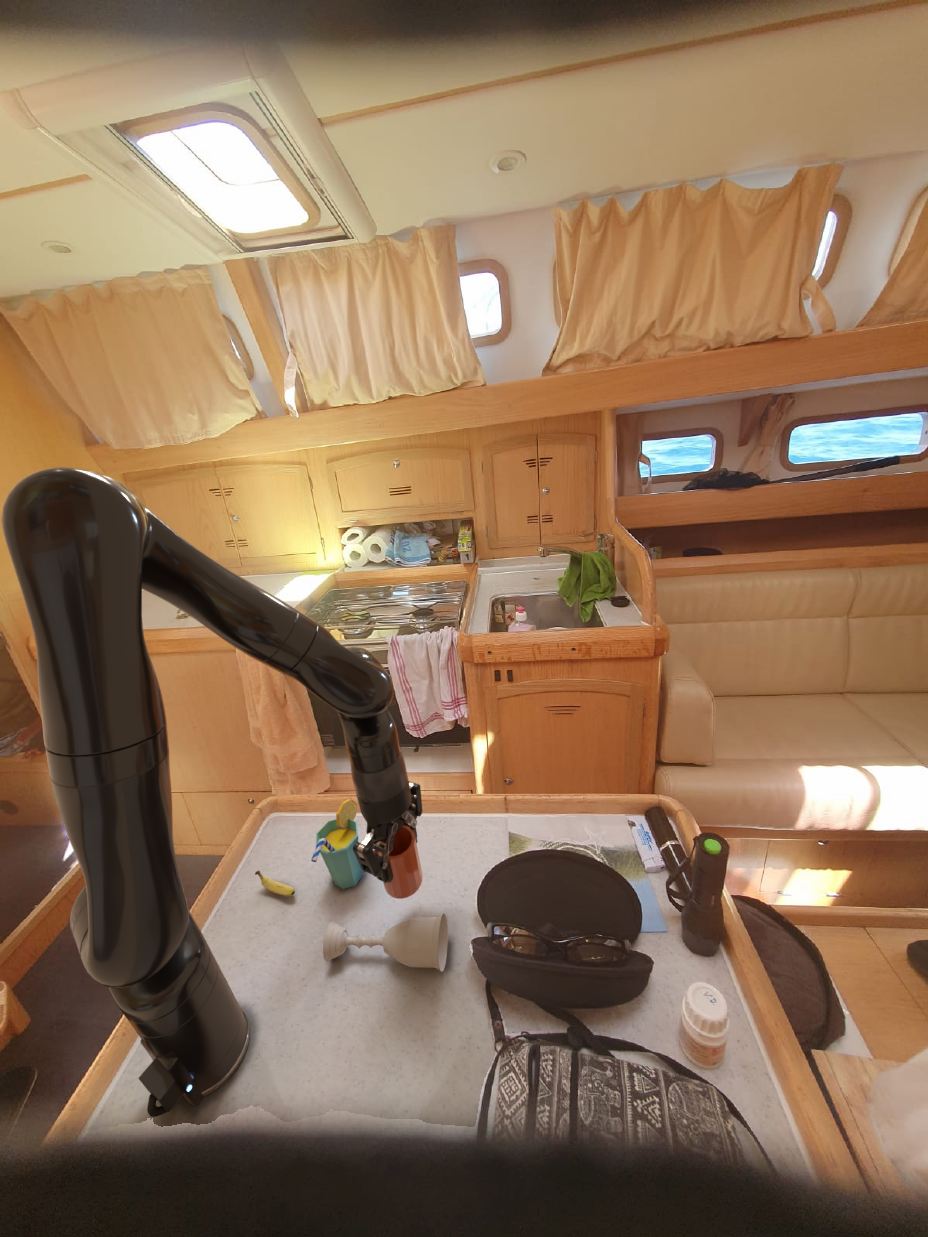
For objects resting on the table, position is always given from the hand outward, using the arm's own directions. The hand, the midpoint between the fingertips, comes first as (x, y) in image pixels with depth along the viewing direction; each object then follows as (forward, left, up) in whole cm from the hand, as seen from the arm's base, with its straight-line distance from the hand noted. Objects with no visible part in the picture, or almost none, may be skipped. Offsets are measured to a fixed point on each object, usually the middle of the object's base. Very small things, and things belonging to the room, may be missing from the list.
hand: (399, 860), depth 71 cm
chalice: (-11, +8, -10) cm, 16 cm away
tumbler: (0, 0, -5) cm, 5 cm away
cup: (0, +14, -13) cm, 19 cm away
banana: (-7, +24, -13) cm, 28 cm away
